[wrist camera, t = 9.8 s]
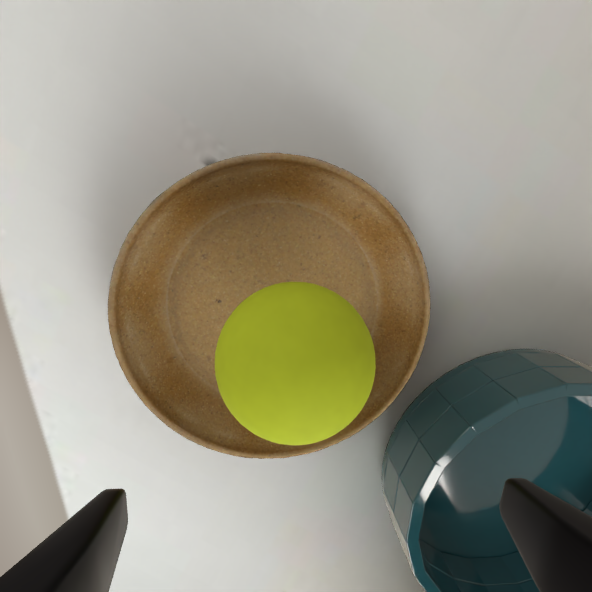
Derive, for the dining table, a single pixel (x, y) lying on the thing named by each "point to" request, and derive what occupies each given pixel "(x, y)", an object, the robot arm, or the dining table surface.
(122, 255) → the plant saucer
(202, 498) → the dining table surface
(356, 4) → the dining table surface
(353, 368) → the ball
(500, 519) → the glazed bowl
